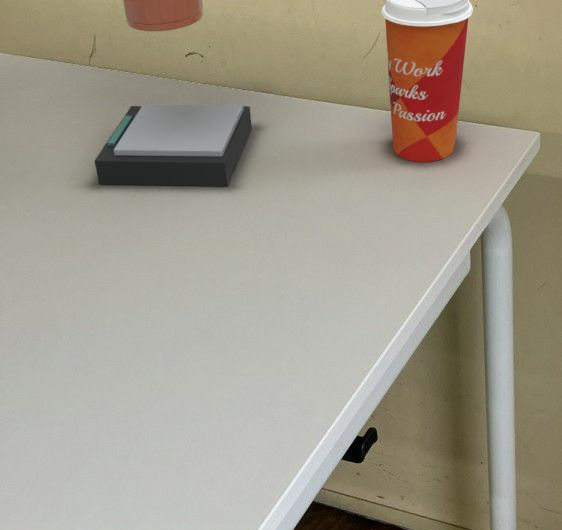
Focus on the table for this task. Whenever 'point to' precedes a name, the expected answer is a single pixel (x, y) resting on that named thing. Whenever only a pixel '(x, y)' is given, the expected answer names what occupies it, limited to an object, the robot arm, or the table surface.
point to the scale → (175, 145)
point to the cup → (162, 14)
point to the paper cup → (425, 74)
